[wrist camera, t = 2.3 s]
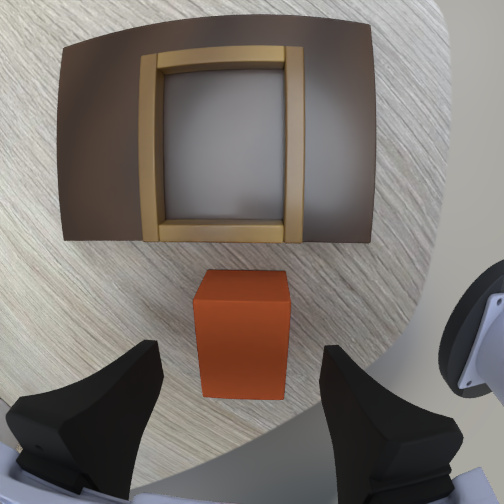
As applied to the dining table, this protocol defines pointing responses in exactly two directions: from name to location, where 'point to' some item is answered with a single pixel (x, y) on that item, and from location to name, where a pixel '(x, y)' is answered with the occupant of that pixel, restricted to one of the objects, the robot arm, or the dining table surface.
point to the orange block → (243, 333)
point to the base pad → (219, 132)
